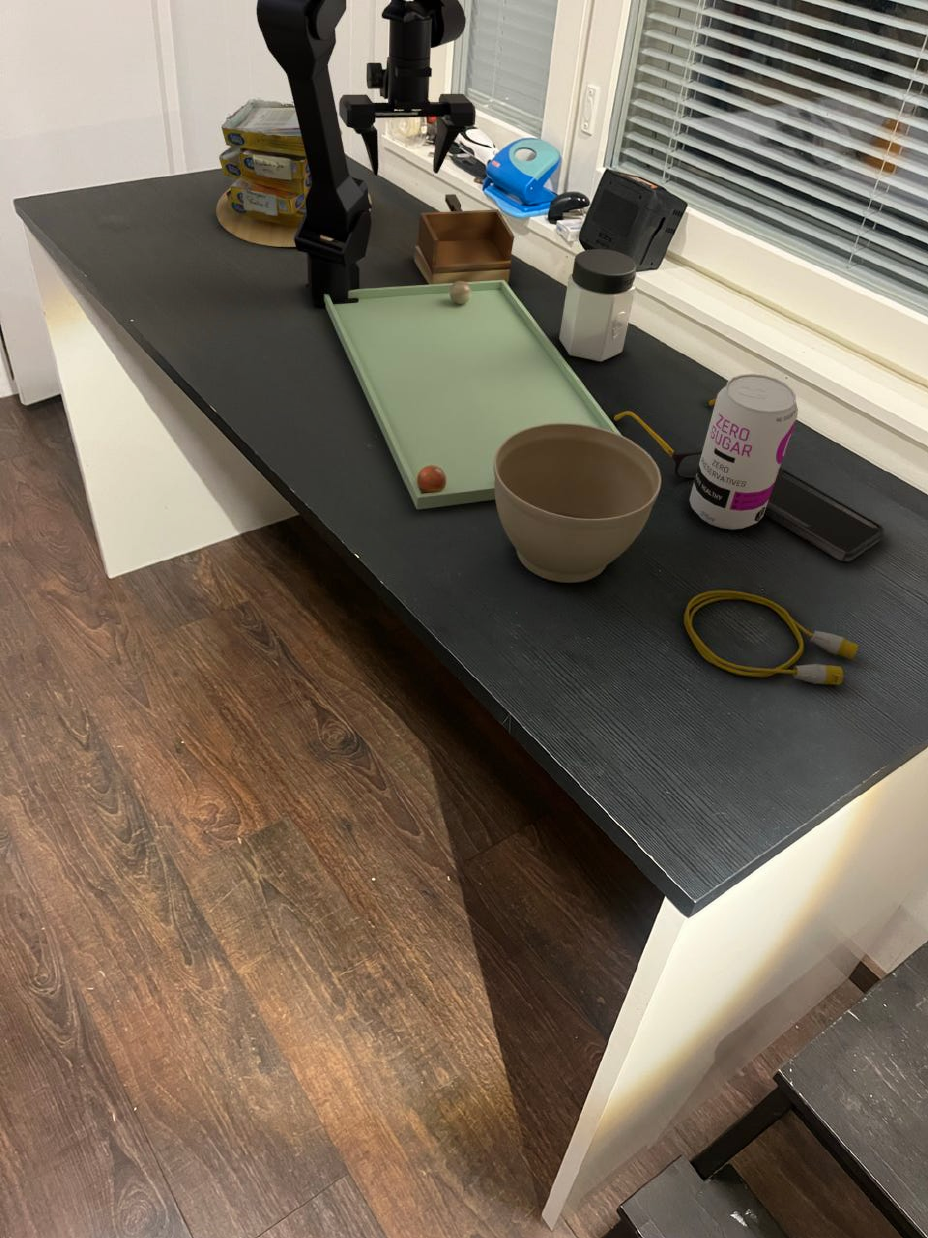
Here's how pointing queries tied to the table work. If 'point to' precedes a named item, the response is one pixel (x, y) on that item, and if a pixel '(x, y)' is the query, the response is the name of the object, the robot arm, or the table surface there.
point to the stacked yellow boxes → (264, 174)
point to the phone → (821, 518)
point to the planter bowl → (572, 497)
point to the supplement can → (743, 450)
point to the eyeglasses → (676, 456)
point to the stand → (459, 276)
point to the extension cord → (822, 639)
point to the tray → (456, 380)
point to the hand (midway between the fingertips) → (405, 173)
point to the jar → (598, 304)
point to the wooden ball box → (465, 239)
